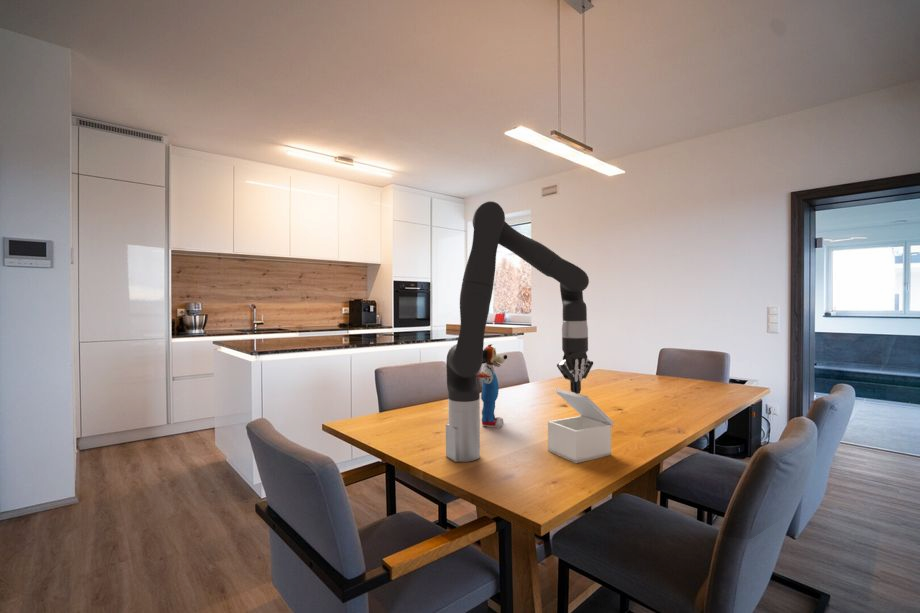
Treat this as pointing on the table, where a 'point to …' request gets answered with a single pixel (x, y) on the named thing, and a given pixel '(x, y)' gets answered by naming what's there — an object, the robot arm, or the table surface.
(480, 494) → the table surface
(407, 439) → the table surface
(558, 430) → the box
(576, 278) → the robot arm
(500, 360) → the toy
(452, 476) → the table surface
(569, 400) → the lid
